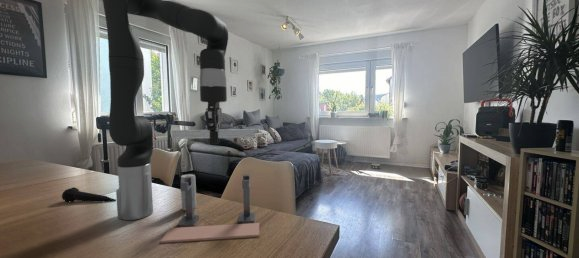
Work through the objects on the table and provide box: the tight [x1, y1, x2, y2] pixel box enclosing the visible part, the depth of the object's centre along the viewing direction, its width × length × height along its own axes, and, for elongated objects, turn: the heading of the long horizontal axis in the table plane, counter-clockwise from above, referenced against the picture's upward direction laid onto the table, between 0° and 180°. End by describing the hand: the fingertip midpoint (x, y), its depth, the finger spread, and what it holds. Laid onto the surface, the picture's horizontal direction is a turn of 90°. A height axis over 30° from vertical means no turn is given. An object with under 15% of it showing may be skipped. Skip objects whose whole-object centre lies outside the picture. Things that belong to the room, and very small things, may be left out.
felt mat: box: [160, 222, 260, 244], centre depth 69 cm, size 26×7×1 cm, turn 97°
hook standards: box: [176, 173, 256, 228], centre depth 76 cm, size 23×6×14 cm, turn 97°
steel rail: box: [171, 128, 256, 140], centre depth 73 cm, size 24×2×2 cm, turn 97°
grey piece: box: [180, 173, 197, 212], centre depth 86 cm, size 5×5×12 cm
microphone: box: [61, 186, 117, 203], centre depth 94 cm, size 6×6×20 cm
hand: (215, 143), depth 73 cm, fingers closed on steel rail, 2 cm apart
